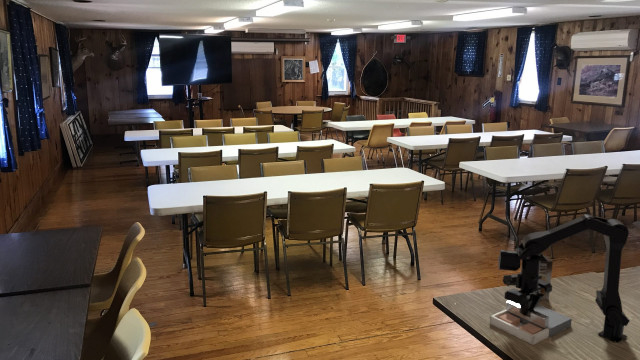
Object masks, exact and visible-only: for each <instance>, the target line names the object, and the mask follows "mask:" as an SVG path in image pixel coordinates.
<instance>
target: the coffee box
mask: <svg viewBox="0 0 640 360" xmlns="http://www.w3.org/2000/svg"><path fill="white" fill-rule="evenodd" d="M544 256H545V257H546V259H547V261H546V262H545V261H540V272H539V275H542V278H541V279H540V280H543V281H546V282H549V283H550V284H551V282H552V273H553V263H554V261H553V260H552V259H551V258H550V257H549V256H548V255H544ZM540 293H541V294H543V295H544V297H542V298H541V300H542V301H549V300H550V293H551V292H549V293H546V292H545V289H544V288H542V289H541V290H540ZM541 300H540V301H541Z"/></svg>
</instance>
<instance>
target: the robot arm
mask: <svg viewBox="0 0 640 360" xmlns="http://www.w3.org/2000/svg"><path fill="white" fill-rule="evenodd" d="M588 230H590V231H594V232H596V233H599V234H602V235H603V239H604V243H605V259H604V260H605V262H604V273H603V284H602V285H603V286H602V288H601V290H595V293H596V297H595V299H594V301H595V303H596V304H597V306H598V308H599V310H600V311H601V312H602V314H603V315H604V321H603V330H601V331H599V332H598V333H597V335H599V336H600V337H603V338H605V339H607V340H610V341H612V342H614V343H620V342H622V341H624V340H625V339H628V335H627V334H624V328H625V327H627V326H628V324H629V323H630V319H629V317H627V315H626V314H625V313H624V312H623V305H622V300H621V296H620V295H621V294H620V292H619V290H620V276H621V268H622V267H621V265H622V255H623V254H622V253H623V252H622V251H623V249H624V248H625V246H626V244H627V241H628V239H629V235H630V232H629V231H630V230H629V229H628V227H627V226H625V224H624V223H623V222H621V221H620V220H619V219H615V218H610V219H608V218H607V219H606V218H604V217H600V216H596V215H595V216H593V215H592V214H590V213H589V214H588V213H585V214H583V215H581V216H579V217H577V218H575V219H572V220H570V221H568V222H564V223H562V224H560V225H558V226H556V227H554V228H551V229H549V230H548V229H547V230H544V231H543V230H542V231H535V232H532V233H528V234H526V235H524V236H523V238H522V241H521V242H520V243H519V245H517V247H515V250H505V249H500V250H499V256H498V257H497V267H498V270H500V271H512V272H513V271H514V272H517V271H519V269H520V268H521V269H520V272H518V273H513V274H505V275H503V276H502V277H503V278H502V282H503V284H504V285H505V286H506V287H510V286H515V288H512V289H508V290H506V291H505V292H504V295H503V296H504V299H505V300H506V301H512V302H514V303H516V304H520V308H521V311H522V314H523V315H524V316H526V314H527V312H528V310H529V308H531V309H533V310H534V308H535V307H536V305H537V304H538V303H539V302H541V298H542V297H544V295H543V294H541V293H540V290H541V289H542V288H544V289H545V292H546V293H549V292H550V293H551V292H552V291H553V285H552V284H551V283H549V282H546V281H543V280H540V279H541V278H542V275H539V272H540V261H545V262H546V261H547V259H546V257H545V256H546V255H544V254H543V252H545V251H547V250H548V249H550V247H552V245H554V244H556V243H558V242H561V241H563V240H566V239H568V238H570V237H573V236H576V235H578V234H580V233H583V232H585V231H588ZM516 288H517V289H516ZM518 289H519V290H518ZM550 293H549V294H550ZM538 305H539V304H538Z"/></svg>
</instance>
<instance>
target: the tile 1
mask: <svg viewBox="0 0 640 360" xmlns="http://www.w3.org/2000/svg"><path fill="white" fill-rule="evenodd" d="M499 319H501V320H503V321H505V322H507V323H509V324H511V325H513V326H516V325H519V324H520V318H518V317H516V316H513V315H511V314H509V313H507V314H505V315H502V316H500V317H499Z"/></svg>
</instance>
